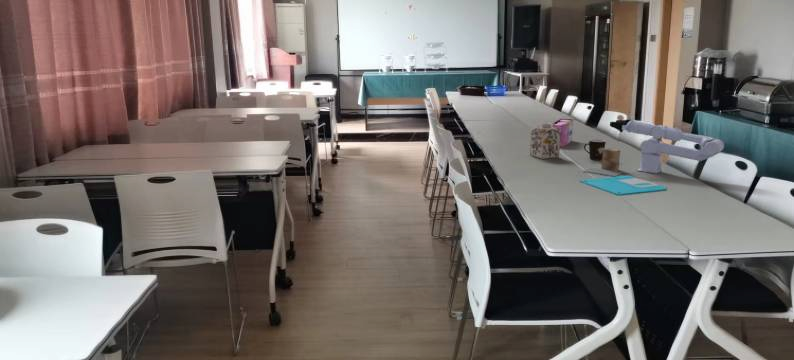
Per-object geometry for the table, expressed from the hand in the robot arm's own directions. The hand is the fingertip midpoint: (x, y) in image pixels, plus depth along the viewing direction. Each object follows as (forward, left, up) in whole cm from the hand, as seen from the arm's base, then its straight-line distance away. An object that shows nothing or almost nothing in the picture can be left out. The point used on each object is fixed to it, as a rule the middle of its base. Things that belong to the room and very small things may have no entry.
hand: (613, 123), depth 310 cm
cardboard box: (-4, +9, -22) cm, 24 cm away
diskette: (-21, +37, -22) cm, 48 cm away
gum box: (+47, -43, -22) cm, 67 cm away
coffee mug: (+13, -10, -22) cm, 27 cm away
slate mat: (-4, +18, -22) cm, 29 cm away
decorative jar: (+36, +1, -22) cm, 42 cm away
